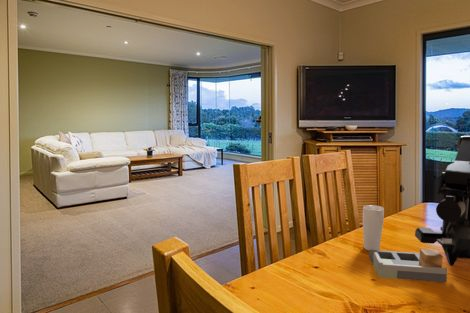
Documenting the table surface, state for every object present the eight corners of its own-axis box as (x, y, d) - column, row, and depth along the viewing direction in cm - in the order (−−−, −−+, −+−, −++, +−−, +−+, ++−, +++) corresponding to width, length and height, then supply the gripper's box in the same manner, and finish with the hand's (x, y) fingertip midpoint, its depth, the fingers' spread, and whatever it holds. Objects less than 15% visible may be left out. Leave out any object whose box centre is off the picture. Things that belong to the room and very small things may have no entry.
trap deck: (428, 261, 108) (428, 247, 108) (446, 282, 95) (447, 267, 94) (369, 256, 112) (369, 244, 111) (378, 277, 98) (379, 262, 98)
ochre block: (435, 264, 101) (436, 249, 100) (441, 271, 96) (442, 256, 96) (419, 263, 101) (420, 248, 101) (424, 269, 97) (425, 255, 97)
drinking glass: (359, 250, 117) (361, 208, 115) (362, 243, 123) (364, 204, 121) (381, 254, 114) (383, 211, 112) (382, 247, 120) (384, 206, 118)
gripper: (430, 220, 89) (426, 275, 92) (509, 224, 86) (503, 281, 88) (416, 208, 100) (412, 258, 102) (486, 211, 97) (481, 262, 99)
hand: (450, 265), depth 98 cm, fingers closed
